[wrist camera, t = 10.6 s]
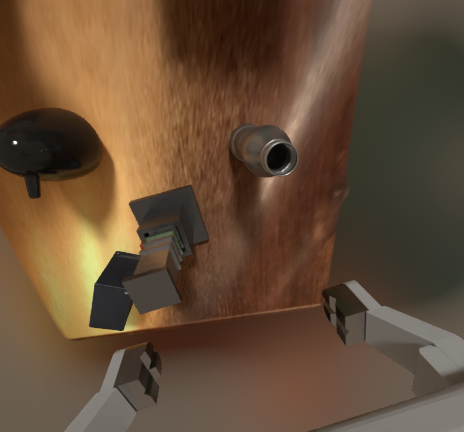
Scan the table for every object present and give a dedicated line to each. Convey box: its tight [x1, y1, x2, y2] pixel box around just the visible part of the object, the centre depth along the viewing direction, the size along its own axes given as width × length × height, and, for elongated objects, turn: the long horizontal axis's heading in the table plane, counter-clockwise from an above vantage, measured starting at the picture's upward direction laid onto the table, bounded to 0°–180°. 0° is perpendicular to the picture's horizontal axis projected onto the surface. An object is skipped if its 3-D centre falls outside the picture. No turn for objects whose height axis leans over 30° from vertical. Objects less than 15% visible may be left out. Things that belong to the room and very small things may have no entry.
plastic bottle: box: [229, 124, 299, 178], centre depth 32 cm, size 6×7×20 cm
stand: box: [129, 185, 209, 257], centre depth 41 cm, size 12×12×10 cm
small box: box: [89, 251, 141, 331], centre depth 44 cm, size 11×6×10 cm, turn 161°
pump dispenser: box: [0, 108, 102, 199], centre depth 30 cm, size 10×10×15 cm
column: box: [122, 225, 184, 314], centre depth 33 cm, size 5×5×15 cm
